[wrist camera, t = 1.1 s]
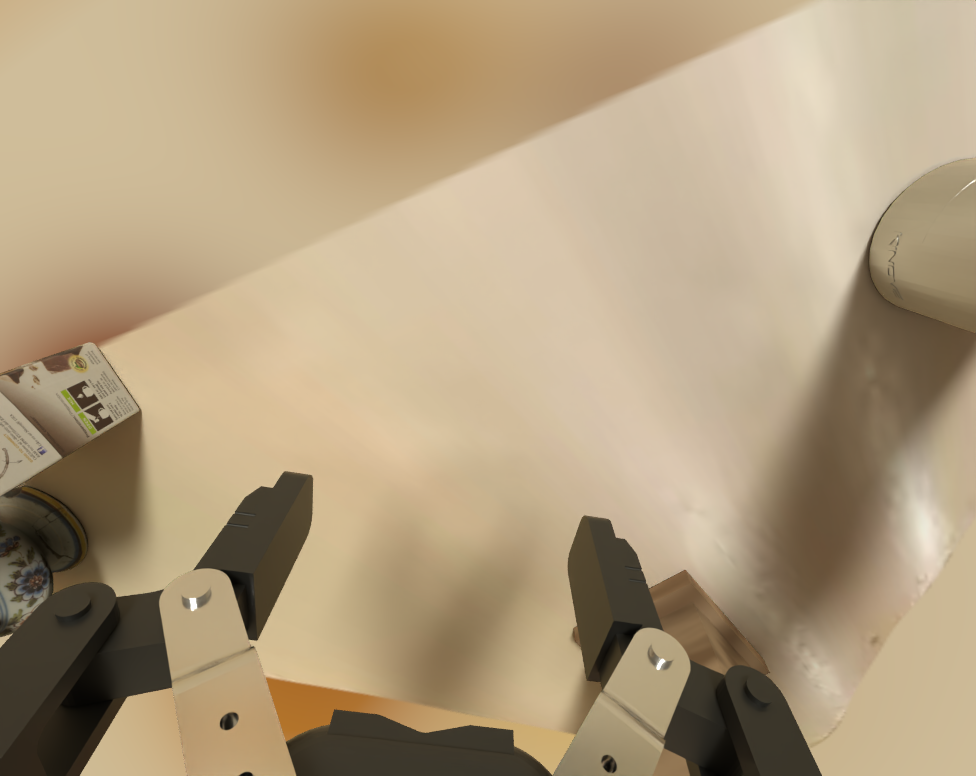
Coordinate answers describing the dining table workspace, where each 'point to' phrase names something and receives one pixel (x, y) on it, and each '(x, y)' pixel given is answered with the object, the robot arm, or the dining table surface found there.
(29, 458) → the coffee box
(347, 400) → the dining table surface
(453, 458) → the dining table surface
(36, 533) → the apothecary jar
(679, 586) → the stand
